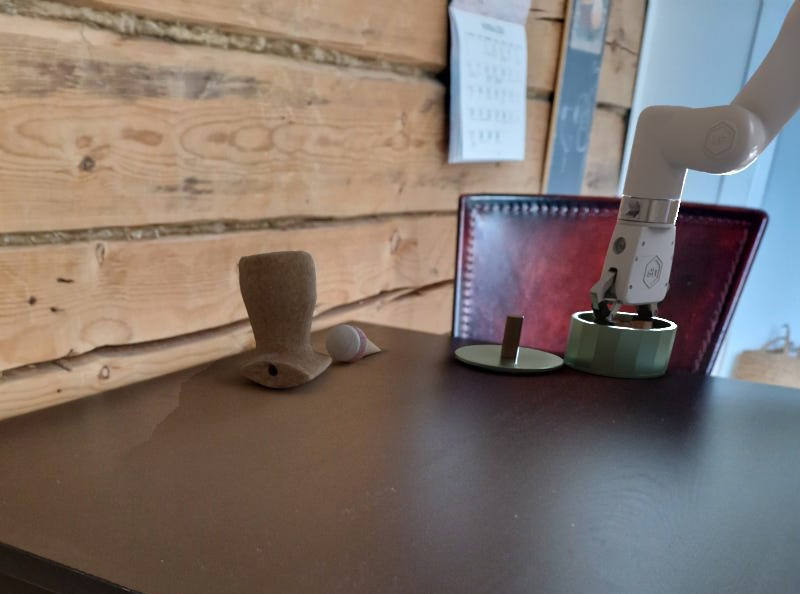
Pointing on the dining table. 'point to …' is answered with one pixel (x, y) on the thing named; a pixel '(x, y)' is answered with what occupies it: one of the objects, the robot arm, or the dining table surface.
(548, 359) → the lid
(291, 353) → the brown flared upright piece
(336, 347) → the ice cream cone
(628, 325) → the fruit slice
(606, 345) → the pan
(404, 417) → the dining table surface
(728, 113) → the robot arm
